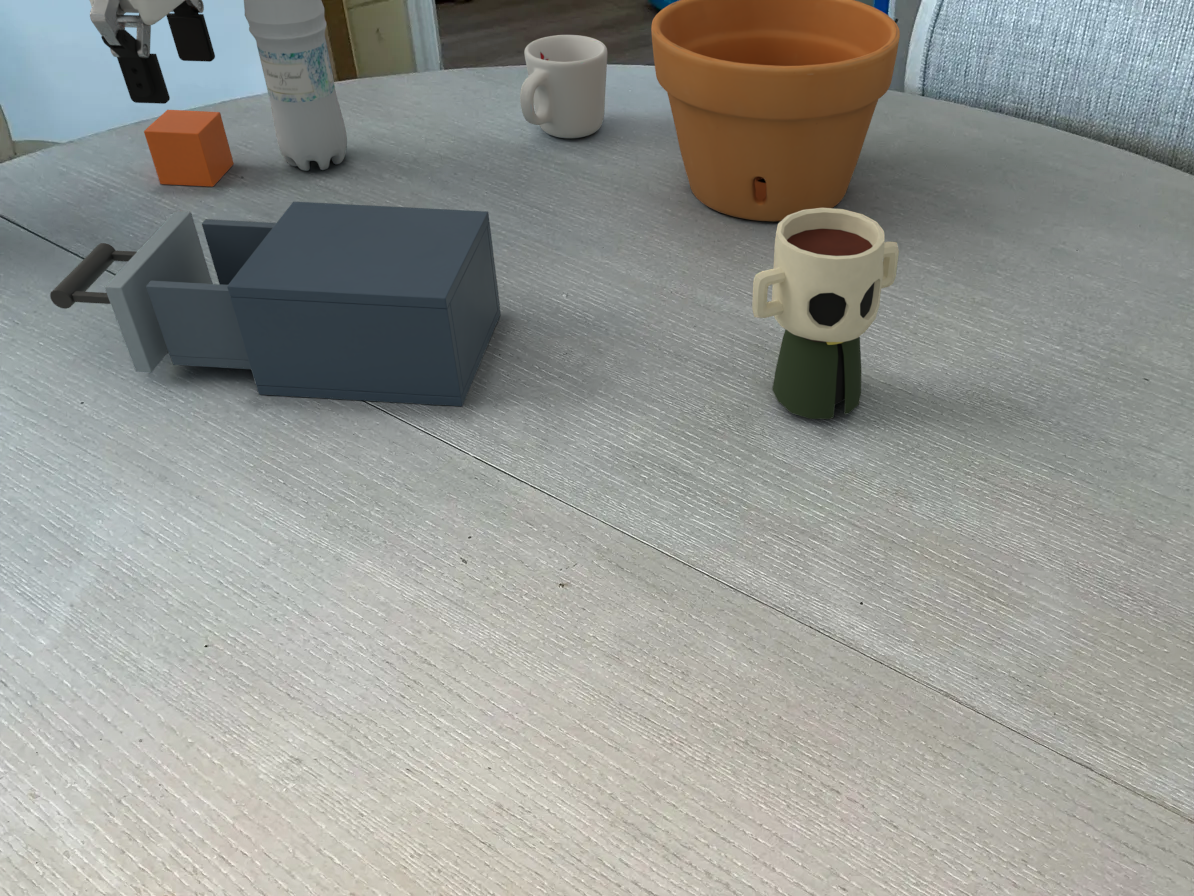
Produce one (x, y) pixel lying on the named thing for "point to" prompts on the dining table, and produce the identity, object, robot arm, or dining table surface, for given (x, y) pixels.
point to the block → (189, 147)
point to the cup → (565, 85)
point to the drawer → (173, 292)
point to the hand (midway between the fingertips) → (175, 80)
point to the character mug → (823, 304)
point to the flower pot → (772, 97)
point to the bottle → (299, 80)
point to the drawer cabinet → (369, 303)
